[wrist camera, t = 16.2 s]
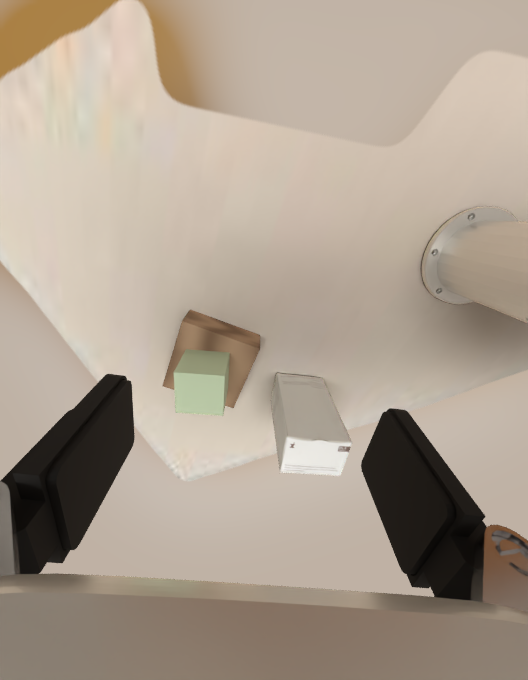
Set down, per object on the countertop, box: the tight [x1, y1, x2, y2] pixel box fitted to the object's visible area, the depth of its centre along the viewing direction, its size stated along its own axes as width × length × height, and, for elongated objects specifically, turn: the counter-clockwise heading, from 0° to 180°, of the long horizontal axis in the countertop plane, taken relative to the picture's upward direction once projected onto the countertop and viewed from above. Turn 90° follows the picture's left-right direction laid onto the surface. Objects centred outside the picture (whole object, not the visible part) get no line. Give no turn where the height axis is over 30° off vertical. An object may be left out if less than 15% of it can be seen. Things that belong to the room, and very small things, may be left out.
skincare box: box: [271, 373, 352, 476], centre depth 39 cm, size 8×6×15 cm
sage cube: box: [174, 349, 230, 416], centre depth 36 cm, size 6×6×6 cm
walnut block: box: [163, 310, 260, 408], centre depth 41 cm, size 11×11×5 cm
